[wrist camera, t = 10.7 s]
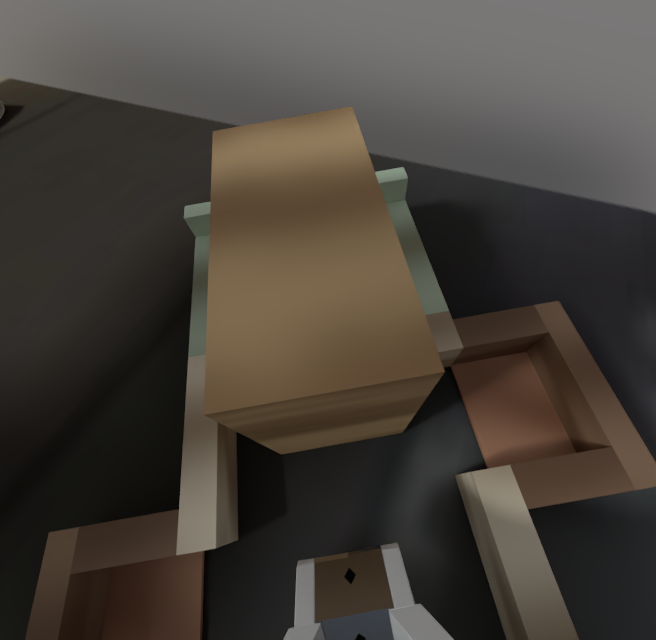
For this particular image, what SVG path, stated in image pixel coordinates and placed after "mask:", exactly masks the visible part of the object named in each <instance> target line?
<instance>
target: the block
mask: <svg viewBox="0 0 656 640" xmlns="http://www.w3.org/2000/svg"><path fill="white" fill-rule="evenodd" d="M444 372H445V371H444V368H443V365H442V362H441V359H440V356H439V353H438V351H437V348H436V345H435V342H434V339H433V336H432V333H431V331H430V328H429V325H428V322H427V319H426V316H425V313H424V311H423V308H422V305H421V302H420V299H419V296H418V294H417V291H416V288H415V285H414V282H413V279H412V276H411V274H410V271H409V268H408V265H407V262H406V259H405V256H404V254H403V251H402V248H401V245H400V242H399V239H398V236H397V234H396V231H395V228H394V225H393V222H392V219H391V216H390V214H389V211H388V208H387V205H386V202H385V199H384V196H383V194H382V191H381V188H380V185H379V182H378V179H377V177H376V174H375V171H374V168H373V165H372V162H371V159H370V157H369V154H368V151H367V148H366V145H365V142H364V140H363V137H362V134H361V131H360V128H359V126H358V123H357V119H356V117H355V114H354V111H353V108H352V106H351V107H345V108H340V109H334V110H329V111H323V112H318V113H312V114H307V115H301V116H296V117H291V118H284V119H279V120H273V121H268V122H262V123H257V124H251V125H245V126H240V127H234V128H229V129H223V130H218V131H213V145H212V176H211V206H210V236H209V267H208V297H207V327H206V358H205V388H204V415H205V416H207V417H209V418H211V419H213V420H214V421H216V422H218V423H220V424H222V425H224V426H226V427H228V428H230V429H232V430H234V431H236V432H238V433H240V434H242V435H244V436H246V437H248V438H250V439H252V440H254V441H256V442H258V443H260V444H262V445H264V446H266V447H267V448H269V449H271V450H273V451H275V452H277V453H279V454H281V455H282V454H287V453H293V452H298V451H304V450H310V449H315V448H321V447H326V446H332V445H338V444H343V443H349V442H354V441H360V440H366V439H371V438H377V437H382V436H388V435H394V434H399V433H403V431H404V430H405V429H406V427H407V426H408V424H409V423H410V421H411V420H412V419H413V417H414V416H415V414H416V413H417V411H418V410H419V408H420V407H421V406H422V404H423V403H424V401H425V400H426V398H427V397H428V395H429V394H430V393H431V391H432V390H433V388H434V387H435V385H436V384H437V383H438V381H439V380H440V378H441V377H442V375H443V374H444Z"/></svg>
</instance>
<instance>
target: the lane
mask: <svg viewBox="0 0 656 640" xmlns="http://www.w3.org/2000/svg"><path fill="white" fill-rule="evenodd" d="M386 205H387V208H388V211H389V214H390V216H391V219H392V222H393V225H394V228H395V231H396V234H397V236H398V239H399V242H400V245H401V248H402V251H403V254H404V256H405V259H406V262H407V265H408V268H409V271H410V274H411V276H412V279H413V282H414V285H415V288H416V291H417V294H418V296H419V299H420V302H421V305H422V308H423V311H424V313H425V316H426V319H427V322H428V325H429V328H430V331H431V333H432V336H433V339H434V342H435V345H436V348H437V351H438V353H439V356H440V359H441V362H442V365H443V368H445V367H451V370H452V373H453V376H454V378H455V381H456V384H457V387H458V389H459V392H460V395H461V398H462V400H463V403H464V406H465V409H466V412H467V414H468V417H469V420H470V423H471V425H472V428H473V431H474V434H475V436H476V439H477V442H478V445H479V447H480V450H481V453H482V456H483V458H484V461H485V464H486V467H487V469H484V470H478V471H473V472H468V473H463V474H458V475H455V477H456V480H457V484H458V487H459V490H460V493H461V496H462V499H463V503H464V506H465V509H466V512H467V515H468V519H469V522H470V525H471V528H472V531H473V534H474V538H475V541H476V544H477V547H478V550H479V554H480V557H481V560H482V563H483V566H484V569H485V573H486V576H487V579H488V582H489V585H490V589H491V592H492V595H493V598H494V601H495V604H496V608H497V611H498V614H499V617H500V620H501V624H502V627H503V630H504V633H505V636H506V639H507V640H579V638H578V635H577V633H576V630H575V628H574V625H573V623H572V620H571V618H570V615H569V613H568V610H567V608H566V605H565V603H564V600H563V598H562V595H561V592H560V590H559V587H558V585H557V582H556V580H555V577H554V575H553V572H552V570H551V567H550V565H549V562H548V560H547V557H546V555H545V552H544V549H543V547H542V544H541V542H540V539H539V537H538V534H537V532H536V529H535V527H534V524H533V522H532V519H531V517H530V514H529V512H528V509H533V508H539V507H544V506H550V505H555V504H561V503H567V502H572V501H578V500H584V499H589V498H595V497H600V496H606V495H612V494H617V493H623V492H628V491H634V490H640V489H645V488H651V487H656V462H655V460H654V459H653V457H652V455H651V454H650V452H649V450H648V449H647V447H646V445H645V444H644V442H643V440H642V439H641V437H640V435H639V434H638V432H637V430H636V429H635V427H634V425H633V424H632V422H631V420H630V419H629V417H628V415H627V414H626V412H625V410H624V409H623V407H622V405H621V404H620V402H619V400H618V399H617V397H616V395H615V394H614V392H613V390H612V389H611V387H610V385H609V384H608V382H607V380H606V379H605V377H604V375H603V374H602V372H601V370H600V369H599V367H598V365H597V364H596V362H595V360H594V359H593V357H592V355H591V354H590V352H589V350H588V349H587V347H586V345H585V344H584V342H583V340H582V339H581V337H580V335H579V334H578V332H577V330H576V329H575V327H574V325H573V324H572V322H571V320H570V319H569V317H568V315H567V314H566V312H565V310H564V309H563V307H562V305H561V304H560V302H559V301H553V302H548V303H542V304H537V305H531V306H525V307H520V308H514V309H509V310H503V311H497V312H492V313H486V314H481V315H475V316H470V317H464V318H458V319H452V317H451V314H450V312H449V309H448V307H447V304H446V302H445V299H444V297H443V294H442V292H441V289H440V287H439V284H438V282H437V279H436V277H435V274H434V271H433V269H432V266H431V264H430V261H429V259H428V256H427V254H426V251H425V249H424V246H423V244H422V241H421V239H420V236H419V234H418V231H417V228H416V226H415V223H414V221H413V218H412V216H411V213H410V211H409V208H408V206H407V203H406V201H405V200H400V201H395V202H389V203H386ZM209 236H210V235H205V236H200V237H196V239H195V256H194V272H193V288H192V305H191V321H190V337H189V354H188V370H187V386H186V403H185V419H184V435H183V452H182V468H181V484H180V501H179V509H177V510H171V511H166V512H160V513H155V514H149V515H143V516H138V517H132V518H127V519H121V520H115V521H110V522H104V523H99V524H93V525H87V526H82V527H76V528H71V529H65V530H59V531H54V532H49V534H48V539H47V543H46V548H45V552H44V557H43V561H42V565H41V570H40V574H39V579H38V583H37V588H36V592H35V597H34V601H33V606H32V610H31V614H30V619H29V623H28V628H27V632H26V637H25V640H202V626H203V588H204V550H210V549H216V548H218V547H221V546H224V545H226V544H229V543H232V542H234V541H237V540H238V493H237V432H236V431H234V430H232V429H230V428H228V427H226V426H224V425H222V424H220V423H218V422H216V421H214V420H213V419H211V418H209V417H207V416H205V415H204V388H205V358H206V327H207V297H208V267H209Z"/></svg>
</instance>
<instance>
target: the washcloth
mask: <svg viewBox="0 0 656 640" xmlns="http://www.w3.org/2000/svg"><path fill="white" fill-rule="evenodd" d="M4 110H5V109H4V105H3V102H2V101H1V100H0V119H1V118H2V116H3V114H4Z"/></svg>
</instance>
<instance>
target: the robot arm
mask: <svg viewBox="0 0 656 640" xmlns="http://www.w3.org/2000/svg"><path fill="white" fill-rule="evenodd" d="M283 640H454V639H453V638H452V637H451V636H450V635H449V634H448V633H447V631H446V630H445V629H444V628H443V627H442V626H441V625H440V624H439V623H438V622H437V621H436V620H435V618H434V617H433V616H432V615H431V614H430V613H429V612H428V611H427V610H426V609H425V608H424V607H423V606H422V604H415V602H414V598H413V594H412V591H411V587H410V584H409V580H408V577H407V573H406V570H405V566H404V562H403V559H402V555H401V552H400V548H399V545H398V544H397V542H396V543H391V544H386V545H381V547H380V545H378V546H373V547H369V548H364V549H359V550H354V551H349V552H348V553H342V554H336V555H330V556H324V557H317V558H311V559H306V560H300V561H298V564H297V570H296V595H295V619H294V627H293V628H289V629H288V631H287V633H286V635H285V637H284V639H283Z"/></svg>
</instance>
